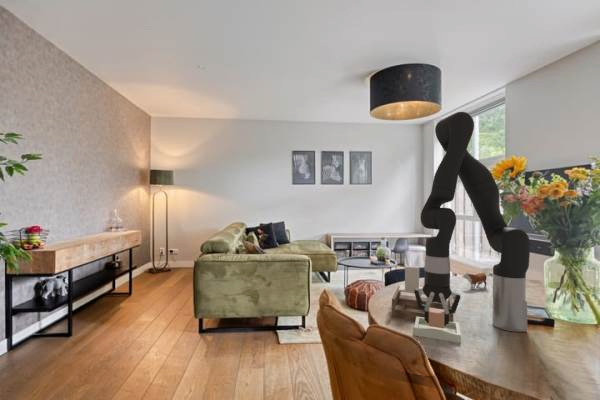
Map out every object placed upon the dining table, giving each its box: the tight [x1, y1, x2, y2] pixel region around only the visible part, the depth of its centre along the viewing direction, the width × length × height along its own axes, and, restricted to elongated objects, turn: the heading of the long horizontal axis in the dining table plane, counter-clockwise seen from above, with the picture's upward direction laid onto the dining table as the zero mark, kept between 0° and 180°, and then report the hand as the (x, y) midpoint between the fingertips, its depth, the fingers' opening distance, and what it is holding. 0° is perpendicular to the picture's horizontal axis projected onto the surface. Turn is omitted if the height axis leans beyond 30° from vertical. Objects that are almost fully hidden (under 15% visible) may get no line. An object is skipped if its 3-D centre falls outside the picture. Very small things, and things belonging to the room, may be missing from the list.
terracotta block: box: [429, 308, 444, 328], centre depth 102 cm, size 4×4×4 cm
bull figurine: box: [462, 271, 488, 291], centre depth 156 cm, size 4×13×8 cm, turn 107°
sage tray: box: [413, 316, 462, 344], centre depth 102 cm, size 13×11×2 cm
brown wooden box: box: [391, 285, 454, 322], centre depth 120 cm, size 20×20×6 cm
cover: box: [399, 265, 426, 296], centre depth 124 cm, size 18×8×10 cm, turn 67°
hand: (436, 323), depth 102 cm, fingers closed on terracotta block, 4 cm apart
